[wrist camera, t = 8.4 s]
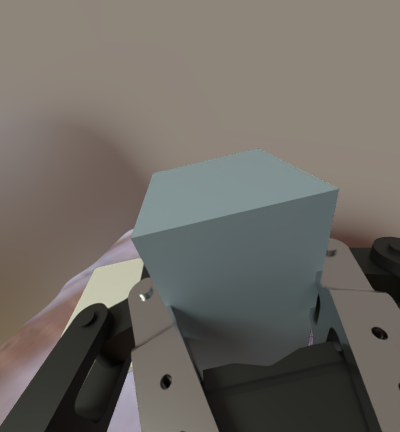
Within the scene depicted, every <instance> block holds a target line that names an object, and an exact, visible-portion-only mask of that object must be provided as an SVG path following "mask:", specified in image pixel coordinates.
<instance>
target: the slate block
mask: <svg viewBox="0 0 400 432" xmlns="http://www.w3.org/2000/svg"><path fill="white" fill-rule="evenodd" d="M338 191H339V189H338V188H336V187H334V186H332V185H330V184H328V183H326V182H324V181H322V180H320V179H318V178H316V177H314V176H312V175H310V174H308V173H306V172H304V171H302V170H300V169H298V168H296V167H294V166H292V165H290V164H288V163H286V162H284V161H282V160H280V159H278V158H276V157H274V156H272V155H270V154H268V153H266V152H264V151H263V150H261V149H258V148H257V149H253V150H249V151H245V152H241V153H237V154H232V155H228V156H224V157H220V158H216V159H211V160H207V161H203V162H199V163H195V164H190V165H186V166H182V167H178V168H174V169H169V170H165V171H161V172H157V173H153V176H152V179H151V182H150V185H149V187H148V190H147V193H146V196H145V199H144V202H143V205H142V207H141V210H140V213H139V216H138V219H137V222H136V225H135V228H134V231H133V233H132V236H131V239H132V241H133V243H134V245H135V247H136V249H137V251H138V253H139V255H140V257H141V259H142V261H143V263H144V265H145V267H146V269H147V271H148V273H149V275H150V277H151V279H152V281H153V283H154V285H155V286H156V288H157V290H158V292H159V294H160V296H161V298H162V300H163V302H164V304H165V306H171V308H172V310H173V312H174V314H175V317H176V319H177V322H178V324H179V327H180V329H181V332H182V334H183V336H184V337H186V339H187V341H188V343H189V346H190V348H191V350H192V353H193V355H194V358H195V360H196V362H197V365H198V367H199V369H200V371H201V374H202V376H203V370H205V369H210V368H214V367H218V366H223V365H227V364H232V363H239V364H251V365H262V366H271V365H273V364H275V363H276V362H278V361H279V360H281V359H283V358H284V357H286V356H287V355H289V354H291V353H292V352H294V351H295V350H297V349H299V348H302V347H306V346H308V343H309V338H310V333H311V328H312V326H311V322H310V318H309V312H310V308H313V307H316V302H317V297H318V290H317V287H316V284H315V277H316V272H317V271H322V270H323V267H324V262H325V257H326V252H327V247H328V242H329V237H330V232H331V226H332V222H333V216H334V211H335V207H336V202H337V196H338Z"/></svg>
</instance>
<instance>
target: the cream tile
mask: <svg viewBox="0 0 400 432" xmlns="http://www.w3.org/2000/svg"><path fill="white" fill-rule="evenodd" d="M143 265H144V263H143V261H142V259H141V258H138V259H133V260H129V261H125V262H120V263H116V264H112V265H107V266H103V267H99V268H95V270H94V272H93V274H92V276H91V278H90V280H89V282H88V284H87V286H86V288H85V290H84V292H83V294H82V296H81V298H80V300H79V302H78V304H77V306H76V308H75V310H74V312H73V314H72V316H71V318H70V320H69V322H68V324H67V326H66V328H65V330H64V332H65V331H66V329H67V328H68V327H69V325H70V324H71V322H72V321H73V319H74V318H75V317H76V316H77V314H78V313H80V312H81V311H82V310H83V309H84V308H86V307H88V306H90V305H92V304H95V303H103V304H105V305H106V306H107V308H110V307H112V306H113V305H115V304H117V303H119V302H121V301H123V300H125V299H126V298H128V295H129V292H130V290H131V289H132V287H133V286H134V285H135V284H136V283H138V282H139V281H140V279H141V274H142V269H143ZM64 332H63V334H64ZM63 334H62V335H63ZM61 337H62V336H61ZM94 362H95V361H94ZM93 364H94V363H93ZM92 366H93V365H92ZM91 368H92V367H91ZM90 370H91V369H90ZM131 371H133V367H132V362H131V365H130V368H129V371H128V372H131ZM89 372H90V371H89ZM88 374H89V373H88ZM87 376H88V375H87ZM86 378H87V377H86ZM85 380H86V379H85ZM84 382H85V381H84Z"/></svg>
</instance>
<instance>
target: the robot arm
mask: <svg viewBox="0 0 400 432" xmlns="http://www.w3.org/2000/svg"><path fill="white" fill-rule="evenodd" d="M315 284H316V287H317V290H318V297H317V302H316V307H313V308H310V312H309V318H310V322H311V326H312V331H313V344H314V345H311V346H306V347H302V348H299V349H297V350H295V351H294V352H292V353H291V354H289V355H287V356H286V357H284V358H283V359H281V360H279V361H278V362H276V363H275V364H273V365H271V366H262V365H251V364H239V363H232V364H227V365H223V366H218V367H214V368H210V369H205V370H203V376H202V374H201V371H200V369H199V367H198V365H197V362H196V360H195V358H194V355H193V353H192V350H191V348H190V346H189V343H188V341H187V339H186V337H184V336H183V334H182V332H181V329H180V327H179V324H178V322H177V319H176V317H175V314H174V312H173V310H172V308H171V306H165V304H164V302H163V300H162V298H161V296H160V294H159V292H158V290H157V288H156V286H155V285H154V283H153V281H152V279H151V277H150V275H149V273H148V271H147V269H146V267H145V265H143V269H142V274H141V279H140V281H139V282H138V283H136V284H135V285H134V286H133V287H132V289H131V290H130V292H129V295H128V298H126V299H125V300H123V301H121V302H119V303H117V304H115V305H113V306H112V307H110V308H107V306H106V305H105V304H103V303H95V304H92V305H90V306H88V307H86V308H84V309H83V310H82V311H81V312H80V313H78V314H77V316H76V317H75V318H74V319H73V321H72V322H71V324H70V325H69V327H68V328H67V329H66V331H65V332H64V334H63V335H62V337H61V338H60V340H59V341H58V343H57V344H56V346H55V347H54V348H53V350H52V351H51V353H50V354H49V356H48V357H47V359H46V360H45V362H44V363H43V364H42V366H41V367H40V369H39V370H38V372H37V373H36V375H35V376H34V378H33V379H32V381H31V382H30V383H29V385H28V386H27V388H26V389H25V391H24V392H23V394H22V395H21V397H20V398H19V400H18V401H17V402H16V404H15V405H14V407H13V408H12V410H11V411H10V413H9V414H8V416H7V417H6V419H5V420H4V421H3V423H2V424H1V426H0V432H107V429H108V426H109V424H110V421H111V418H112V415H113V413H114V410H115V407H116V404H117V401H118V399H119V396H120V393H121V390H122V387H123V385H124V382H125V379H126V376H127V373H128V371H129V368H130V365H131V362H132V367H133V374H134V381H135V388H136V395H137V402H138V409H139V417H140V424H141V431H142V432H400V238H395V237H382V238H378V239H376V240H375V241H374V243H373V245H372V248H348V247H347V246H346V245H345V244H344V243H342V242H340V241H338V240H335V239H332V238H329V242H328V247H327V252H326V257H325V262H324V267H323V270H322V271H317V272H316V277H315ZM94 361H95V362H94ZM93 363H94V364H93ZM92 365H93V366H92ZM91 367H92V368H91ZM90 369H91V370H90ZM89 371H90V372H89ZM88 373H89V374H88ZM87 375H88V376H87ZM86 377H87V378H86ZM85 379H86V380H85ZM84 381H85V382H84ZM83 383H84V384H83ZM82 385H83V386H82ZM81 387H82V388H81ZM80 389H81V390H80ZM79 391H80V392H79ZM78 393H79V394H78Z"/></svg>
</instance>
